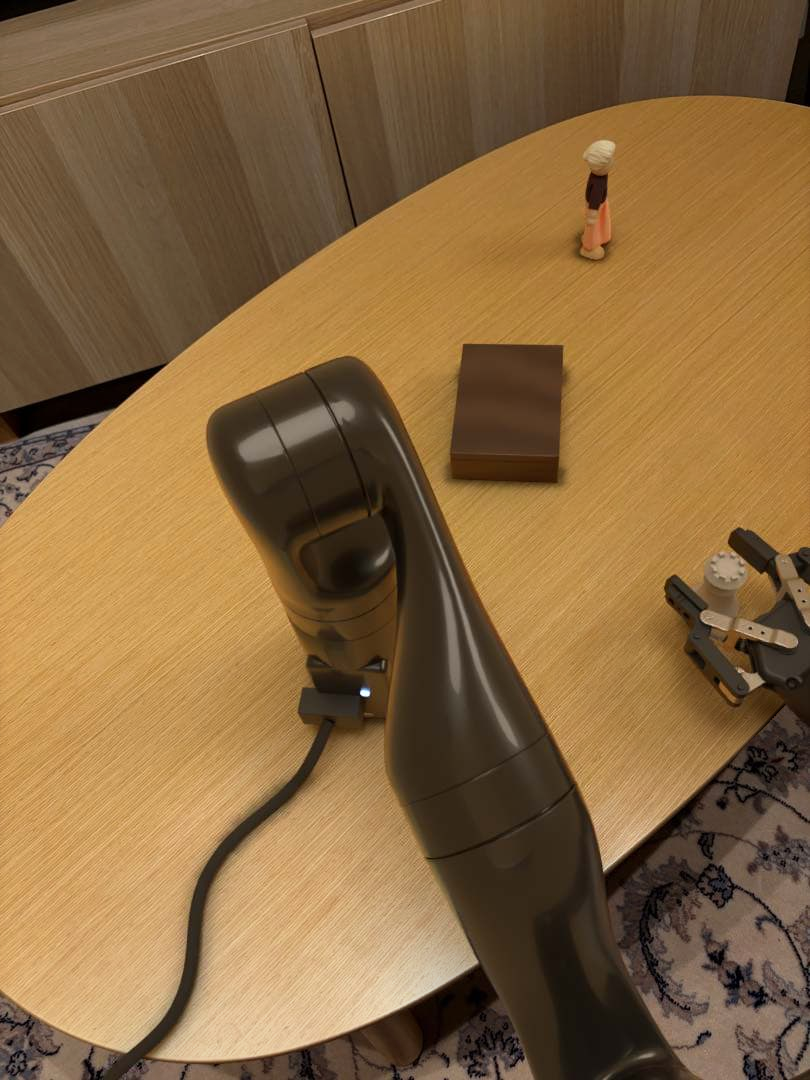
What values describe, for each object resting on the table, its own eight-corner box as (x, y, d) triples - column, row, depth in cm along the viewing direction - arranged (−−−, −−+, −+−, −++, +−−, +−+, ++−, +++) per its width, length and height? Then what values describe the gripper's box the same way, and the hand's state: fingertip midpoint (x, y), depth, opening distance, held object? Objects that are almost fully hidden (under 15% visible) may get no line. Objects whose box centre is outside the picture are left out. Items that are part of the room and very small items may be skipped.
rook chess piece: (747, 610, 73) (770, 561, 66) (717, 647, 71) (738, 601, 65) (700, 580, 75) (718, 530, 68) (670, 616, 73) (686, 568, 66)
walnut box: (557, 482, 82) (559, 456, 78) (452, 478, 83) (449, 453, 80) (561, 372, 89) (563, 344, 86) (464, 370, 91) (463, 343, 87)
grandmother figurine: (614, 264, 97) (626, 162, 86) (579, 267, 97) (587, 166, 87) (606, 220, 101) (617, 117, 90) (573, 223, 101) (580, 121, 91)
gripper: (788, 792, 62) (627, 628, 71) (923, 679, 66) (754, 535, 74) (819, 759, 56) (638, 582, 64) (966, 636, 59) (777, 483, 68)
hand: (701, 558), depth 69 cm, fingers open, 6 cm apart
